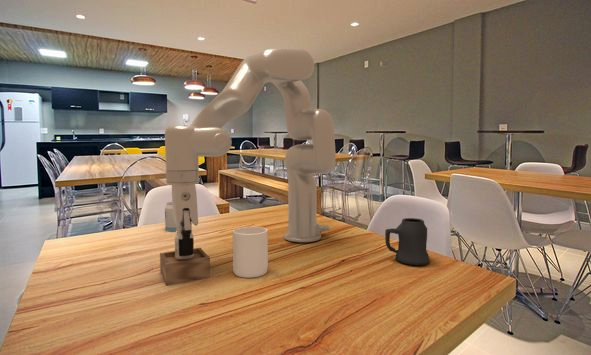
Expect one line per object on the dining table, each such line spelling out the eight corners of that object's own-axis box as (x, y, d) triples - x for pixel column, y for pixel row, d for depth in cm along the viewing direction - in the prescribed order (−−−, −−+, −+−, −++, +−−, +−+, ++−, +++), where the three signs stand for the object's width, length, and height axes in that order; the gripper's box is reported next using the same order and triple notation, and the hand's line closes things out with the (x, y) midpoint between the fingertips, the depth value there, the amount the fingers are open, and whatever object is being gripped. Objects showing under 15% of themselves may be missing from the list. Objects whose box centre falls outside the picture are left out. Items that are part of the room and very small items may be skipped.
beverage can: (181, 237, 120) (180, 204, 119) (162, 237, 120) (161, 204, 119) (188, 232, 127) (187, 201, 126) (170, 232, 127) (169, 201, 126)
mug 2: (422, 254, 98) (423, 216, 97) (435, 264, 89) (436, 223, 88) (381, 254, 98) (382, 216, 97) (389, 264, 89) (390, 223, 88)
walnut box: (200, 266, 89) (200, 247, 88) (210, 278, 80) (209, 257, 80) (160, 273, 84) (159, 252, 84) (166, 286, 75) (165, 264, 75)
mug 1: (273, 263, 91) (273, 224, 90) (263, 279, 79) (263, 234, 78) (242, 262, 92) (242, 223, 91) (228, 277, 80) (227, 233, 79)
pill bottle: (188, 260, 79) (187, 228, 79) (171, 259, 80) (170, 227, 79) (197, 254, 83) (196, 224, 83) (181, 253, 84) (180, 223, 84)
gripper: (204, 179, 74) (206, 260, 76) (193, 175, 90) (195, 242, 91) (168, 181, 71) (171, 264, 72) (163, 176, 86) (166, 245, 88)
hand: (184, 251), depth 82 cm, fingers closed on pill bottle, 4 cm apart
